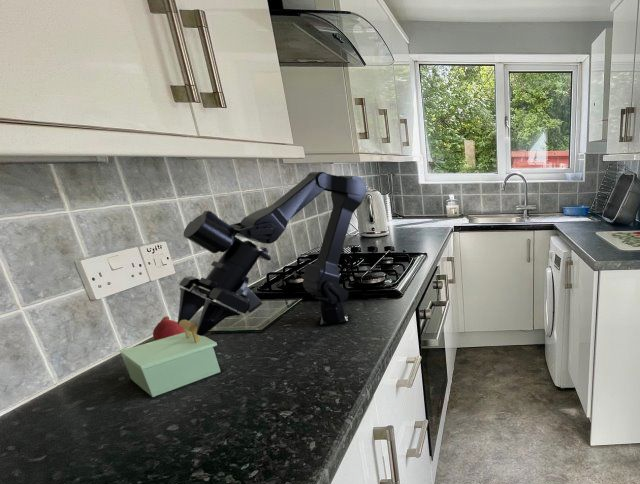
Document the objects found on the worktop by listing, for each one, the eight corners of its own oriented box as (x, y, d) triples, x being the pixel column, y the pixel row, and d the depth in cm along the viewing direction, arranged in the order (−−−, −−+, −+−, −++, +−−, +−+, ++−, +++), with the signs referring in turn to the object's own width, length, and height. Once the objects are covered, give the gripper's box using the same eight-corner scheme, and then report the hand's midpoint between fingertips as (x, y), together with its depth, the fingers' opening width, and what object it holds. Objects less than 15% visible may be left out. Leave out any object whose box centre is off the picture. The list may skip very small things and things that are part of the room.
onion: (173, 355, 91) (161, 322, 88) (152, 353, 92) (140, 320, 89) (196, 344, 96) (186, 313, 93) (176, 342, 97) (166, 311, 94)
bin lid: (193, 332, 89) (187, 313, 87) (217, 345, 83) (211, 325, 81) (120, 354, 79) (112, 332, 77) (141, 370, 73) (133, 347, 72)
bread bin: (197, 357, 90) (189, 334, 88) (220, 372, 84) (213, 347, 82) (131, 379, 81) (121, 354, 79) (152, 397, 75) (141, 370, 73)
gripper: (289, 291, 89) (248, 356, 84) (247, 278, 99) (208, 335, 94) (241, 263, 80) (192, 334, 76) (201, 252, 90) (155, 314, 85)
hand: (189, 330), depth 83 cm, fingers open, 9 cm apart
